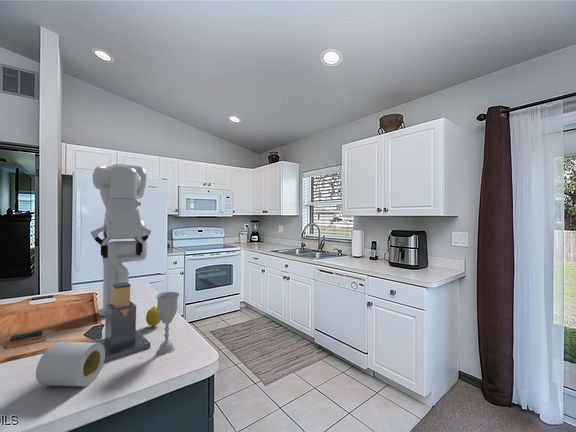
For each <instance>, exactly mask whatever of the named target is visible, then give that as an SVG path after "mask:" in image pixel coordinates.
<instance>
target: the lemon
mask: <svg viewBox="0 0 576 432" xmlns="http://www.w3.org/2000/svg"><path fill="white" fill-rule="evenodd" d="M145 321H146V323H147V325H149V326H151V327H153V328H154V327H156V326H157V325H159V323H161V322H162V321H161V319H160V317H159V314H158V311H157V307H156V306H155V305H154V306H153V307H151V308H150V309H148V311H147V312H146V317H145Z"/></svg>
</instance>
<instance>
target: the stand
mask: <svg viewBox="0 0 576 432" xmlns="http://www.w3.org/2000/svg"><path fill="white" fill-rule="evenodd" d="M104 318H105V321H104V322H105V326H104V327H105V329H104V338H101V339H98V340H94V341H91V342H89V343H101V344H102V345H103V346H104V348H105V359H104V363H108V362H111V361H113V360H117V359H120V358H122V357H125V356H128V355H132V354H135V353H137V352H140V351H144V350H146V349H147V350H148V349H150V348H151V341H149V340H148V339H147V338H146V337H145V336H143V335H142V334H141V333H140V332H139V331H138V330H137V329H136V328H137V305H136V303H133V302H132V301H131V300H130V306H126V307H121V308H117V309H114V308H113V307H112V304H108V305H106V317H104ZM104 363H103V364H104Z"/></svg>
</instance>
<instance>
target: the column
mask: <svg viewBox="0 0 576 432" xmlns="http://www.w3.org/2000/svg"><path fill="white" fill-rule="evenodd" d="M130 301H131V284H130V283H129V282H123V283H116V284H113V299H112V307H113V308H114V309H117V308H121V307H126V306H130Z"/></svg>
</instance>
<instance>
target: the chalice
mask: <svg viewBox="0 0 576 432" xmlns="http://www.w3.org/2000/svg"><path fill="white" fill-rule="evenodd" d="M179 296H180V293H179V292H177V291H176V292H174V291H165V292H160V293H158V294H156V295H155V297H156V299H157V304H156V305H157V311H158V314H159V317H160V319H161V321H160V322H162V323H163V324H164V325H165V327H164V331H165V333H164V334H163V336H164V338H165V339H164V341H162V343H160V345H159V347H158V348H159V349H158V350H157V352H158V353H159V354H169V353H172V352H173V351H175V348H176V347H175V345H174V343H173V341H171V340H170V339H169V336H171V334H170V333H169V331H170V330H171V329H170V327H169V324H171V323H172V322H173V320H174V319H175V316H176V314H177V311H178V303H179V302H178V299H179Z"/></svg>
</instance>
